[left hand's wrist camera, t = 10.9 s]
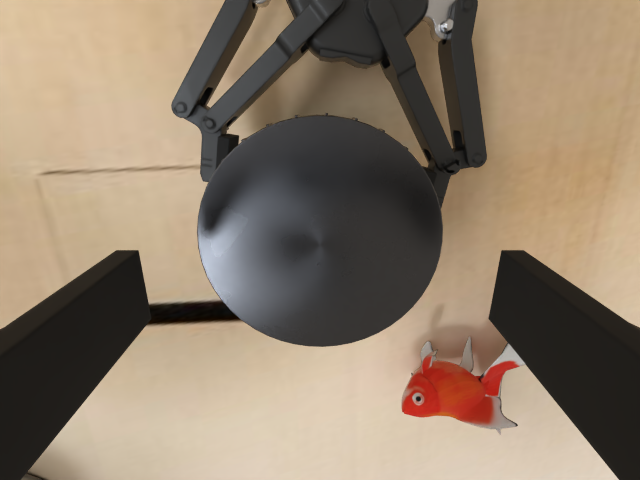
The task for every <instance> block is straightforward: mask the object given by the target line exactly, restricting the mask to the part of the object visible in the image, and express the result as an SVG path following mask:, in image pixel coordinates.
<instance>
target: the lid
mask: <svg viewBox="0 0 640 480" xmlns="http://www.w3.org/2000/svg"><path fill="white" fill-rule="evenodd" d="M357 120H358V119H357V118H353V119H349V118H344V117H338V116H333V115H328V113H325V115H310V116H300V117H299V115H295V118H292V119H288V120H284V121H280V122H278V123H275V124H272V123H270V124H267V125H266V126H267V127H265V128H263V129H261V130H260V131H258V132H256V133H254V134H253V135H251V136H249V137H247V138H245V139H242V140H241V141H242V142H241V143H240V144H239V145H237V146H236V147H235V148H234V149H233V150H232V151H231V152H230V153H229V154H228V155H227V156H226V157H225V158H224V159H222V161H221V164H220V165H219V166H218V168H217V169H216V170H215V172H214V173H213V175H212V177H211V179H210V181H209V183H208V184H207V187H206V190H205V192H204V195H203V198H202V201H201V205H200V210H199V215H198V227H197V236H198V248H199V252H200V257H201V261H202V264H203V267H204V270H205V272H206V275H207V277H208V279H209V281H210V283H211V285H212V287H213V288H214V290H215V291H216V293H217V294H218V296H219V297H220V299H221V300H222V301H223V302H224V303H225V305H226V306H227V307H228V308H229V309H230V310H231V311H232V312H233V313H234V314H235V315H236V316H238V317H239V318H240V319H241V320H242V321H244V322H245V323H247V324H248V325H250V326H251V327H253V328H254V329H256V330H258V331H260V332H262V333H264V334H265V335H267V336H270V337H273V338H275V339H278V340H280V341H284V342H288V343H292V344H297V345H304V346H319V347H325V346H337V345H343V344H348V343H352V342H356V341H359V340H362V339H365V338H368V337H370V336H372V335H374V334H377V333H379V332H380V331H382V330H384V329H386V328H387V327H389V326H391V325H392V324H393V323H395V322H396V321H397V320H399V319H400V318H401V317H403V316H404V315H405V314H406V313H407V312H408V311H409V310H410V309H411V308H412V307H413V306H414V305H415V303H416V302H417V301H418V300H419V299H420V297H421V296H422V294H423V293H424V291H425V290H426V288H427V287H428V285H429V283H430V281H431V279H432V277H433V275H434V272H435V270H436V267H437V264H438V261H439V257H440V252H441V246H442V234H443V224H442V216H441V209H440V205H439V201H438V198H437V195H436V192H435V190H434V187H433V185H432V183H431V180H430V179H429V177H428V176H427V174H426V172H425V169H423V167H422V166H421V165H420V163H419V162H418V161H417V160H416V159H415V157H414V156H413V155H412V154H411V153H410V152H409V151H408V148H407V147H405V146H402V145H401V144H400V143H399V142H398V141H396V140H395V139H393V138H392V137H390V136H389V135H388V134H386V133H384V132H385V131H384V130H382V129H376V128H374V127H372V126H370V125H368V124H365V123H362V122H359V121H357Z"/></svg>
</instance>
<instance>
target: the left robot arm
mask: <svg viewBox="0 0 640 480" xmlns="http://www.w3.org/2000/svg"><path fill="white" fill-rule="evenodd" d="M150 320H151V314H150V309H149V304H148V299H147V293H146V288H145V283H144V277H143V272H142V267H141V262H140V256H139V251H138V250H116V251H115V252H113V253H112V254H110V255H109V256H108V257H106V258H105V259H103V260H102V261H100V262H99V263H97V264H96V265H94V266H93V267H92V268H90V269H89V270H87V271H86V272H84V273H83V274H81V275H80V276H78V277H77V278H76V279H74V280H73V281H71V282H70V283H68V284H67V285H65V286H64V287H62V288H61V289H59V290H58V291H57V292H55V293H54V294H52V295H51V296H49V297H48V298H46V299H45V300H43V301H42V302H41V303H39V304H38V305H36V306H35V307H33V308H32V309H30V310H29V311H27V312H26V313H25V314H23V315H22V316H20V317H19V318H17V319H16V320H14V321H13V322H11V323H10V324H9V325H7V326H6V327H4V328H2V329H0V480H42V479H40V478H37V477H35V476H32V475H29V474H26V473H27V471H28V470H29V469H30V468H31V467H32V465H33V464H34V463H35V462H36V460H37V459H38V458H39V457H40V455H41V454H42V453H43V452H44V451H45V449H46V448H47V447H48V446H49V444H50V443H51V442H52V441H53V439H54V438H55V437H56V436H57V434H58V433H59V432H60V431H61V430H62V428H63V427H64V426H65V425H66V423H67V422H68V421H69V420H70V418H71V417H72V416H73V415H74V414H75V412H76V411H77V410H78V409H79V407H80V406H81V405H82V404H83V402H84V401H85V400H86V399H87V397H88V396H89V395H90V394H91V393H92V391H93V390H94V389H95V388H96V386H97V385H98V384H99V383H100V381H101V380H102V379H103V378H104V376H105V375H106V374H107V373H108V372H109V370H110V369H111V368H112V367H113V365H114V364H115V363H116V362H117V360H118V359H119V358H120V357H121V356H122V354H123V353H124V352H125V351H126V349H127V348H128V347H129V346H130V344H131V343H132V342H133V341H134V339H135V338H136V337H137V336H138V335H139V333H140V332H141V331H142V330H143V328H144V327H145V326H146V325H147V323H148V322H149V321H150ZM489 320H490V321H491V322H492V323H493V325H494V326H495V327H496V328H497V330H498V331H499V332H500V333H501V335H502V336H503V337H504V338H505V339H506V341H507V342H508V343H509V344H510V346H511V347H512V348H513V349H514V351H515V352H516V353H517V354H518V356H519V357H520V358H521V359H522V360H523V362H524V363H525V364H526V365H527V367H528V368H529V369H530V370H531V372H532V373H533V374H534V375H535V376H536V378H537V379H538V380H539V381H540V383H541V384H542V385H543V386H544V388H545V389H546V390H547V391H548V393H549V394H550V395H551V396H552V397H553V399H554V400H555V401H556V402H557V404H558V405H559V406H560V407H561V409H562V410H563V411H564V412H565V414H566V415H567V416H568V417H569V418H570V420H571V421H572V422H573V423H574V425H575V426H576V427H577V428H578V430H579V431H580V432H581V433H582V434H583V436H584V437H585V438H586V439H587V441H588V442H589V443H590V444H591V446H592V447H593V448H594V449H595V451H596V452H597V453H598V454H599V455H600V457H601V458H602V459H603V460H604V462H605V463H606V464H607V465H608V467H609V468H610V469H611V470H612V471H613V473H614V474H615V475H616V476H617V478H618V479H619V480H640V328H639V327H637V326H635V325H633V324H631V323H629V322H627V321H626V320H624V319H623V318H621V317H620V316H618V315H617V314H615V313H614V312H613V311H611V310H610V309H608V308H607V307H605V306H604V305H602V304H601V303H599V302H598V301H597V300H595V299H594V298H592V297H591V296H589V295H588V294H586V293H585V292H583V291H582V290H581V289H579V288H578V287H576V286H575V285H573V284H572V283H570V282H569V281H567V280H566V279H564V278H563V277H562V276H560V275H559V274H557V273H556V272H554V271H553V270H551V269H550V268H548V267H547V266H546V265H544V264H543V263H541V262H540V261H538V260H537V259H535V258H534V257H532V256H531V255H530V254H528V253H527V252H525V251H524V250H502V251H501V256H500V262H499V267H498V272H497V277H496V283H495V288H494V293H493V299H492V304H491V309H490V314H489Z"/></svg>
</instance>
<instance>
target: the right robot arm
mask: <svg viewBox="0 0 640 480" xmlns="http://www.w3.org/2000/svg"><path fill="white" fill-rule="evenodd" d="M270 1H271V0H225V2H224V4H223V6H222V8H221V10H220V12H219V13H218V15H217V17H216V19H215V21H214V23H213V25H212V27H211V29H210V31H209V33H208V34H207V36H206V38H205V40H204V42H203V44H202V46H201V48H200V50H199V52H198V54H197V56H196V57H195V59H194V61H193V63H192V65H191V67H190V69H189V71H188V73H187V75H186V77H185V78H184V80H183V82H182V84H181V86H180V88H179V90H178V92H177V94H176V96H175V98H174V100H173V101H172V105H171V106H172V111H173V113H174V114H175V115H176V116H178V117H180V118H184V119H186V120H188V121H190V122H191V123H193V124H195V125H196V126H197V127H198V128H199V129H200V131H201V133H202V149H201V170H200V174H201V177H202V180H203V181H205V182H209V181H210V179H211V177H212V175H213V173H214V172H215V170H216V169H217V168H218V166H219V165H220V164H221V161H222V159H224V158H225V157H226V156H227V155H228V154H229V153H230V152H231V151H232V150H233V149H234V148H235V147H236V146H237V145H238V142H239V135H233V134H227V130H228V129H229V128H228V127H229V126H230V125H231V124H232V123H234V122H235V121H236V120H237V119H238V118H239V117H240V116H241V115H242V114H243V113H244V112H245V111H246V110H247V109H248V108H249V107H250V106H251V105H252V104H253V103H254V102H255V101H256V100H257V99H258V98H259V97H260V96H261V95H262V94H263V93H264V92H265V91H266V90H267V89H268V88H269V87H270V86H271V85H272V84H273V83H274V82H275V81H276V80H277V79H278V78H279V77H280V76H281V75H282V74H283V73H284V72H285V71H286V70H287V69H288V68H289V67H290V66H291V65H292V64H293V63H295V62H296V61H297V60H299V59H300V58H301V57H302V56H303V55H304V54H305V53H306V52H307V51H308V50H310V52H311V53H312V54H313V55H314V56H316V57H317V58H319V60H321V61H326V62H339V61H345V62H347V63H349V64H351V65H353V66H354V67H359V68H364V69H367V68H368V67H373V66H375V65H377V64H379V63H380V65H381V67H382V70H383V72H384V74H385V76H386V78H387V79H388V80H389V81H390V83H391V85H392V87H393V89H394V91H395V94H396V96H397V98H398V100H399V102H400V104H401V106H402V108H403V111H404V113H405V115H406V117H407V119H408V121H409V123H410V125H411V128H412V130H413V132H414V134H415V136H416V138H417V140H418V142H419V144H420V147H421V149H422V151H423V153H424V155H425V157H426V159H427V161H428V163H429V164H428V168H426V167H423V166H422V167H423V169H425V172H426V174H427V176H428V177H429V179H430V180H431V183H432V185H433V187H434V190H435V192H436V195H437V198H438V201H439V205H440V209H441V207H442V203H443V200H444V196H445V193H446V189H447V186H448V183H449V179H450V177H451V175H454V174H456V173H457V172H458V171H459V170H460V169H463V168H469V167H474V168H477V167H480V166H482V165H483V164H484V163H485V161H486V159H487V154H486V146H485V139H484V131H483V124H482V116H481V108H480V101H479V93H478V86H477V78H476V71H475V63H474V56H473V48H472V40H471V39H472V33H473V28H474V22H475V17H476V11H477V6H478V1H477V0H286V1H287V3H288V6H289V8H290V10H291V12H292V14H293V17H294V20H293V21H292V22H291V23H290V24H289V25H288V26H287V27H286V28H285V29H284V31H283V32H282V33H281V34H280V35H279V36H278V37H277V39H276V41H275V42H274V43H273V45H272V46H271V47H270V48H269V49H268V50H267V51H266V52H265V53H264V54H263V55H262V56H261V57H260V58H259V59H258V60H257V61H256V62H255V63H254V64H253V65H252V66H251V67H250V68H249V69H248V70H247V71H246V72H245V73H244V74H243V75H242V76H241V77H240V78H239V79H238V80H237V81H236V82H235V83H234V85H233V86H232V87H231V88H230V89H229V90H228V91H227V92H226V93H225V94H224V95H223V96H222V97H221V98H220V99H219V100H218V101H217V102H216V103H215V104H214V105H213V106H212V107H211V108H210V107H208V106H206V105H207V104H208V102H209V100H210V98H211V96H212V95H213V93H214V91H215V89H216V87H217V86H218V84H219V82H220V80H221V78H222V77H223V75H224V73H225V71H226V69H227V68H228V66H229V64H230V62H231V60H232V59H233V57H234V55H235V53H236V51H237V50H238V48H239V46H240V44H241V42H242V41H243V39H244V37H245V35H246V33H247V32H248V30H249V28H250V26H251V24H252V22H253V20H254V18H255V15H256V12H257V9H258V7H259V8H264V7H266V6H267V5H268V4H269V3H270ZM421 21H425V22H427V23H428V24H429V26H430V32H431V36H432V38H433V39H434V40H435V41H438V42H439V43H438V55H439V63H440V69H441V75H442V81H443V87H444V94H445V100H446V106H447V112H448V118H449V124H450V130H451V137H452V143H453V149H452V148H451V146H450V144H449V142H448V139H447V137H446V135H445V133H444V130H443V128H442V126H441V124H440V121H439V119H438V117H437V115H436V112H435V110H434V108H433V106H432V103H431V101H430V99H429V96H428V94H427V92H426V90H425V87H424V85H423V83H422V81H421V78H420V76H419V74H418V72H417V69H416V63H415V59H414V57H413V54H412V52H411V50H410V48H409V45H408V43H407V41H406V39H405V38H406V37H407V36H408V35H409V34H410V32H411V31H412V30H413V29H414V28H415V27H416V26H417V25H418V24H419V23H420V22H421Z"/></svg>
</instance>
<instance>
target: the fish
mask: <svg viewBox="0 0 640 480" xmlns="http://www.w3.org/2000/svg"><path fill="white" fill-rule="evenodd" d="M437 350H438V349H437ZM437 350H436V351H433V349H432V346H431V343H430V342H426V343H425V345H424V346H423V348H422V350H421V353H420V356H421V360H422V364H421V367H420V368H418V369H417V370H416V371H415V372H414V374H412V373H411V374H412V377H411V379H410V380H409V382H408V384H407V386H406V389H405V391H404V393H403V397H402V412H404V414H408V415H412V416H416V417H430V416H450V417H453V418H456V419H458V420H460V421H462V422H465V423H468V424H471V425H475V426H478V427H482V428H488V429H496V430H497V431H498V432H499V434H500V435H501V432H500V429H502V428H509V427H516V426H518V425H517V424H516V423H514V422H513V421H511V420H509V419H507V418H506V417H505V416H504V415H503V414H502V411H501V399H500V393H501V382H502V377H503V375H504V373H505V372H506V371H507V370H510V369H513V368H516V367H519V366H522V365H525V363H524V362H523V360H522V359H521V358H520V357H519V356H518V354H517V353H516V352H515V351H514V349H513V348H512V347H511V346H510V344H509V343H507V345H506V347H505V348H504V350H503V352H502V354H501V355H500V356H499V357H498V358H497V360H496V361H495V362H494V363H493V364H492V365H491V366H490V367H489V368H488V369H487V370H486V371H485V372H484V373H483V374H482V375H481V376H474V375H473V374H471V371H472V370H473V366H474V365H473V356H472V347H471V337H469V338H468V340H467V343H466V346H465V348H464V352H463V357H462V361H461V364H460V365H456V364H454V363H450V362H446V361H438V360H437V361H435V360H436V353H437Z"/></svg>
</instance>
